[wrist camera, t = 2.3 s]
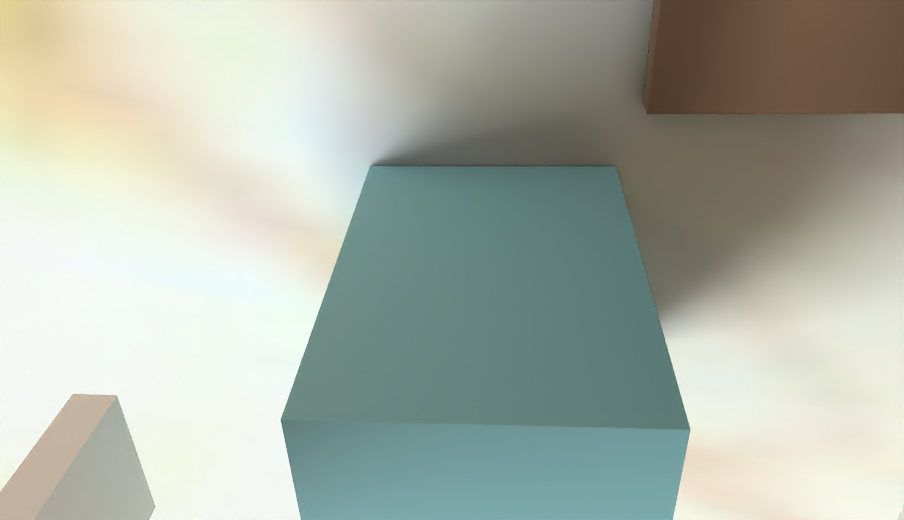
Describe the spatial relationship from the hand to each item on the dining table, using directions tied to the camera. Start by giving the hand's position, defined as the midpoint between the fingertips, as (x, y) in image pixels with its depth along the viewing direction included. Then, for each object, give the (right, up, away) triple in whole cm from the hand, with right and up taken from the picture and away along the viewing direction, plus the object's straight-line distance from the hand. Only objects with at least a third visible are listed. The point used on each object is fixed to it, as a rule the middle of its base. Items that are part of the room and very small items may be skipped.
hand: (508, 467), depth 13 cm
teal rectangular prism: (0, +3, +5) cm, 6 cm away
